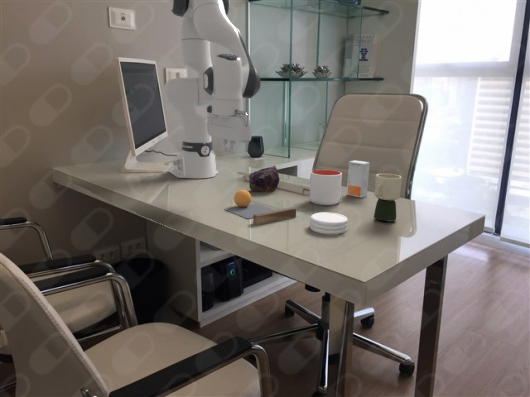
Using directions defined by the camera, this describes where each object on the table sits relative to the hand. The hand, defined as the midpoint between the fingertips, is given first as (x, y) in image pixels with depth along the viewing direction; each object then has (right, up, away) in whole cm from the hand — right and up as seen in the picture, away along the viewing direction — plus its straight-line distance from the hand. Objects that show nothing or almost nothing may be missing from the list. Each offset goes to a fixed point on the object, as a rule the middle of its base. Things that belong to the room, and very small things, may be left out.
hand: (228, 153), depth 140 cm
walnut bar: (+15, -20, -15) cm, 29 cm away
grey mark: (+8, -18, -7) cm, 21 cm away
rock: (+12, -12, +19) cm, 26 cm away
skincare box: (+44, -14, +14) cm, 48 cm away
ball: (+5, -14, -4) cm, 16 cm away
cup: (+31, -16, +5) cm, 35 cm away
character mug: (+46, -21, -13) cm, 52 cm away
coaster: (+29, -23, -22) cm, 43 cm away
